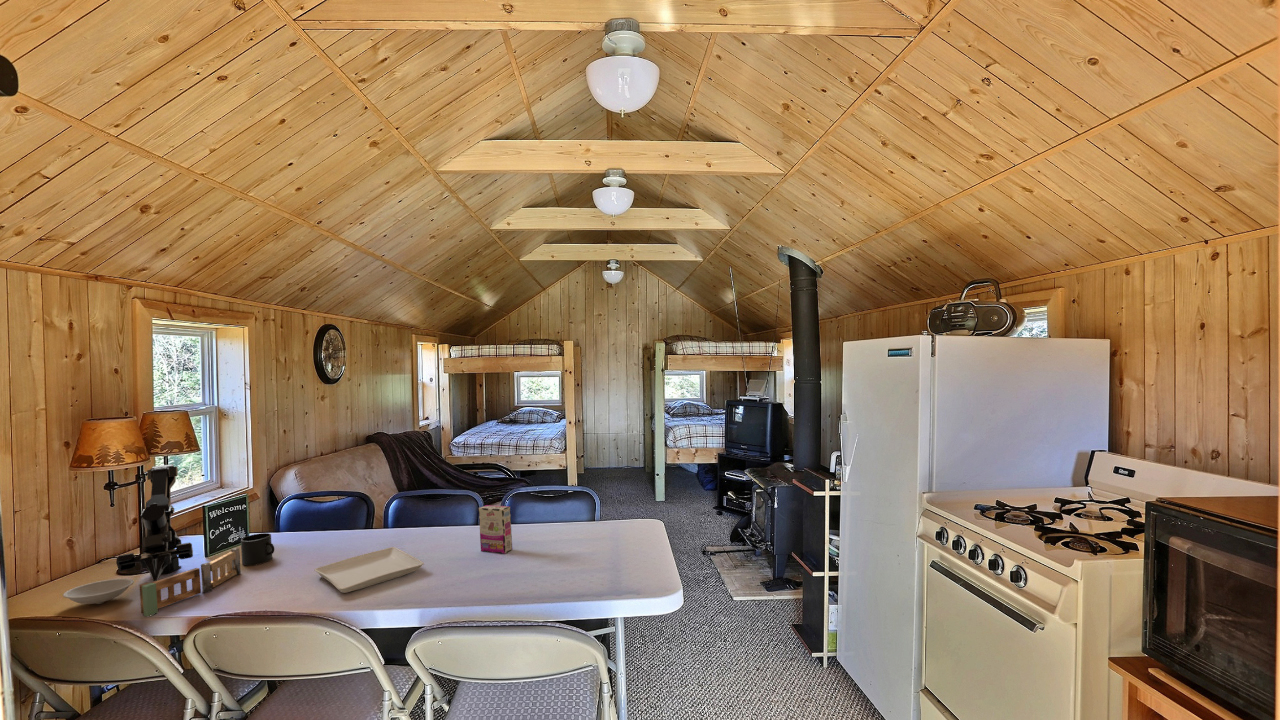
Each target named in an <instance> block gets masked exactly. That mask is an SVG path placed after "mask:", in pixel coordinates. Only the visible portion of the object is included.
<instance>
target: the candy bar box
mask: <svg viewBox="0 0 1280 720" xmlns="http://www.w3.org/2000/svg"><path fill="white" fill-rule="evenodd" d="M511 516H512V515H511V506H507V505H494V504H493V505H492V504H491V505H489V504H486V505H483V506H480V507H478V518H479V520H478V521H479V523H478V524H479V537H480V552H484V553H494V554H507V553H510V552H511V551H512V550H513V540H512V539H513V538H512V537H513V536H512V520H511Z"/></svg>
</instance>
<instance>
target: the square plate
mask: <svg viewBox="0 0 1280 720" xmlns="http://www.w3.org/2000/svg"><path fill="white" fill-rule="evenodd" d="M423 565H425V563H424V562H423V561H421V560H420V559H418V558H416V557H415V556H412V555H411V554H409V553H407V552H405V551H403V550H401V549H399V548H397V547H394V546H391V547H387V548H384V549H380V550H375V551H371V552H367V553H364V554H361V555H360V554H359V555H356V556H353V557H350V558H346V559H343V560H339V561H336V562H333V563H329V564H326V565H322V566H319V567H316V568H314V572H316V573H317V574H318V575H320V576H321V577H322V578H324V579H325V580H327V581H328V582H329V583H331V584H332V585H333V586H334V587H335V588H336V589H337V590H338V591H339V592H340V593H343V594H345V593H347V594H348V593H351V592H354V591H358V590H361V589H365V588H368V587H371V586H374V585H377V584H381V583H383V582H388V581H390V580H393V579H396V578H400V577H402V576H405V575H407V574H410V573H413V572H415V571H418V570H419V569H420V568H421V567H422V566H423Z"/></svg>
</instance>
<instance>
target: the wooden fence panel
mask: <svg viewBox="0 0 1280 720" xmlns="http://www.w3.org/2000/svg"><path fill="white" fill-rule="evenodd" d="M240 551H241V550H240V547H234V548H231V549H230V551H229V552H228V553H225V554H223V555H221V556H219V557H217V558H216V559H213V560H211V561H210V562H205V563H201V564H200V577H201V593H202V592H203V594H206V593H210V592H212V589H213V588H215V587H217V586H219V585H220V584H222V583H224V582H225V581H228V580H229V579H231V578H233V577H235V576H239V575H241V574H242V571H241V570H242V569H241V555H240V554H241V553H240ZM211 574H212V576H211Z"/></svg>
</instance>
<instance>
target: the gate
mask: <svg viewBox="0 0 1280 720" xmlns="http://www.w3.org/2000/svg"><path fill="white" fill-rule="evenodd" d="M190 580H191V589H190V590H188V585H187V583H188V582H187V581H190ZM149 583H150V582H143V583H140V584H139V586H138V587H139V597H140V598H139V599H140V613H141V614H144V610H143V594H142V586H143V585H146V584H149ZM151 583H155V584H156V593H157V609H161V608H164V607H166V606H169V605H172V604H175V603H177V602H180V601H183V600H186V599H188V598H191V597H194V596H196V595H199V594H201V593H202V584H201V567H200V568H199V567H195V568H191V569H188V570H186V571H183V572H180V573H176V574H174V575H171V576H167V577H164V578H162V579H158V580H157V581H152V582H151ZM177 584H180V593H177V594H176V595H175V585H177ZM166 588H167V598H164V599H162V590H163V589H166Z"/></svg>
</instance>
